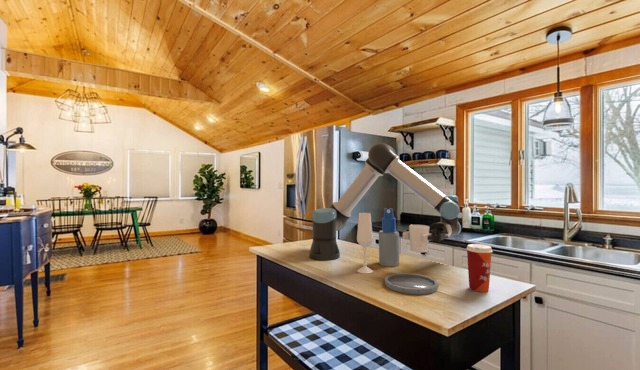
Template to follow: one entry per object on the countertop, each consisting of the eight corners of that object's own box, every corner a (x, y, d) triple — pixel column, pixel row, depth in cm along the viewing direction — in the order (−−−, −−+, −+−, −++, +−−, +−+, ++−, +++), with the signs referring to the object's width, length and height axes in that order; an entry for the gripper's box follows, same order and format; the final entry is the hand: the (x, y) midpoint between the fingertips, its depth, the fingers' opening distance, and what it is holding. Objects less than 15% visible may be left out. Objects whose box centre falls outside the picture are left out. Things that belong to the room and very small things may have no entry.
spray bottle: (398, 267, 137) (398, 209, 136) (378, 265, 140) (377, 209, 139) (399, 261, 146) (399, 207, 145) (380, 260, 149) (379, 207, 147)
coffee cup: (490, 295, 104) (490, 249, 104) (463, 290, 109) (463, 246, 109) (494, 288, 111) (494, 245, 110) (468, 283, 116) (469, 242, 115)
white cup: (430, 253, 124) (430, 228, 124) (409, 252, 125) (409, 227, 125) (427, 249, 132) (428, 225, 131) (408, 248, 133) (408, 224, 133)
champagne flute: (361, 267, 136) (361, 212, 136) (375, 270, 132) (375, 213, 132) (354, 271, 131) (353, 213, 130) (368, 274, 127) (368, 214, 127)
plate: (377, 279, 120) (377, 275, 120) (419, 276, 124) (419, 271, 124) (400, 296, 102) (400, 291, 102) (448, 292, 107) (448, 286, 107)
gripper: (462, 243, 134) (437, 251, 118) (418, 236, 148) (390, 242, 132) (463, 225, 133) (438, 231, 118) (418, 220, 148) (390, 224, 132)
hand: (412, 237), depth 125 cm, fingers closed on white cup, 8 cm apart
